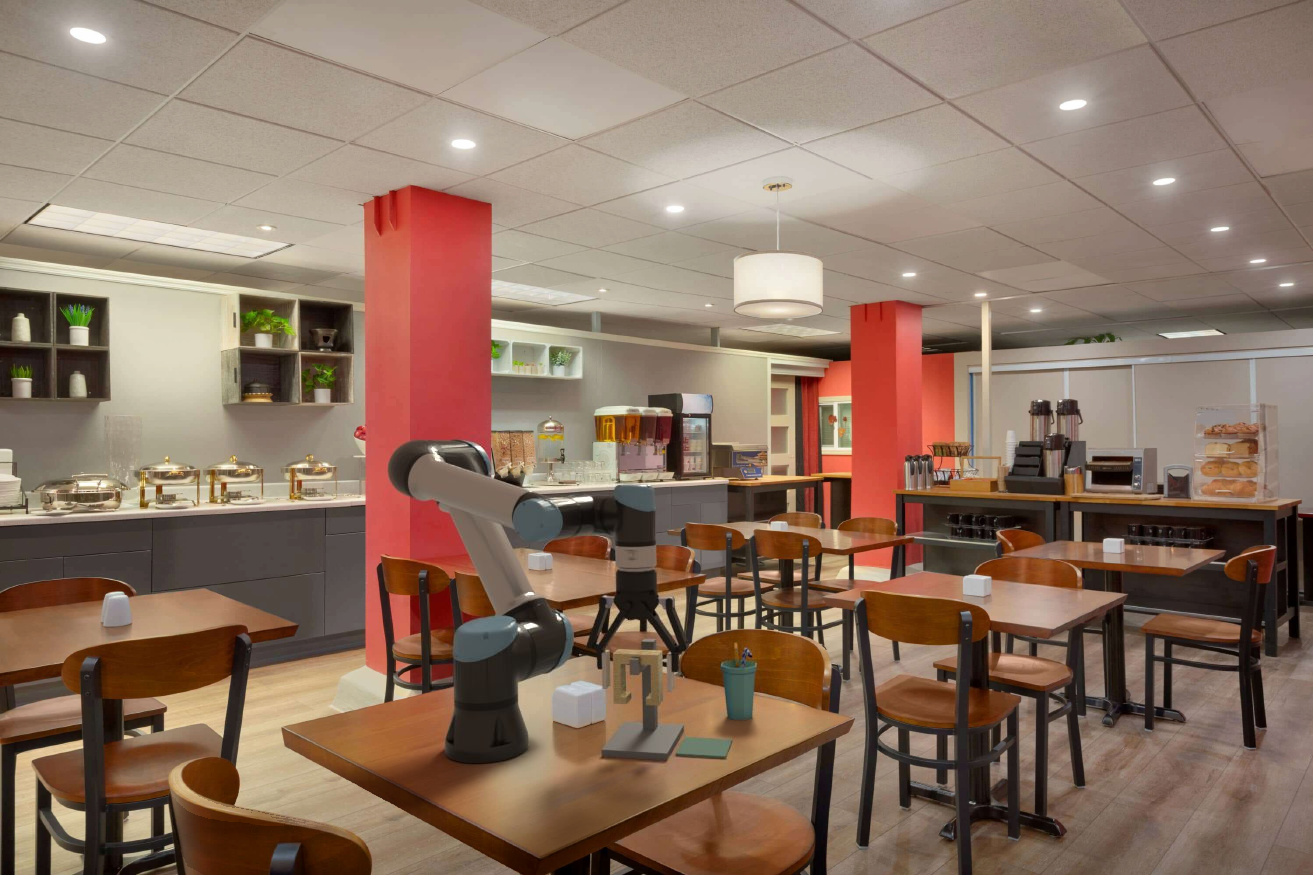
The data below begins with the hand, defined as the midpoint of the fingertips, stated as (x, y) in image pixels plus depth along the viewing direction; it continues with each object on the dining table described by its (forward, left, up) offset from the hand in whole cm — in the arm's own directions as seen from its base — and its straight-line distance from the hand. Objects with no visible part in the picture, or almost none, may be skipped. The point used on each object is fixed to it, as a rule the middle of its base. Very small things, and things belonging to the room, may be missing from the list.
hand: (638, 688), depth 151 cm
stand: (0, +4, -11) cm, 12 cm away
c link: (0, 0, -2) cm, 2 cm away
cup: (+16, +22, -11) cm, 29 cm away
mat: (+11, +3, -11) cm, 16 cm away
